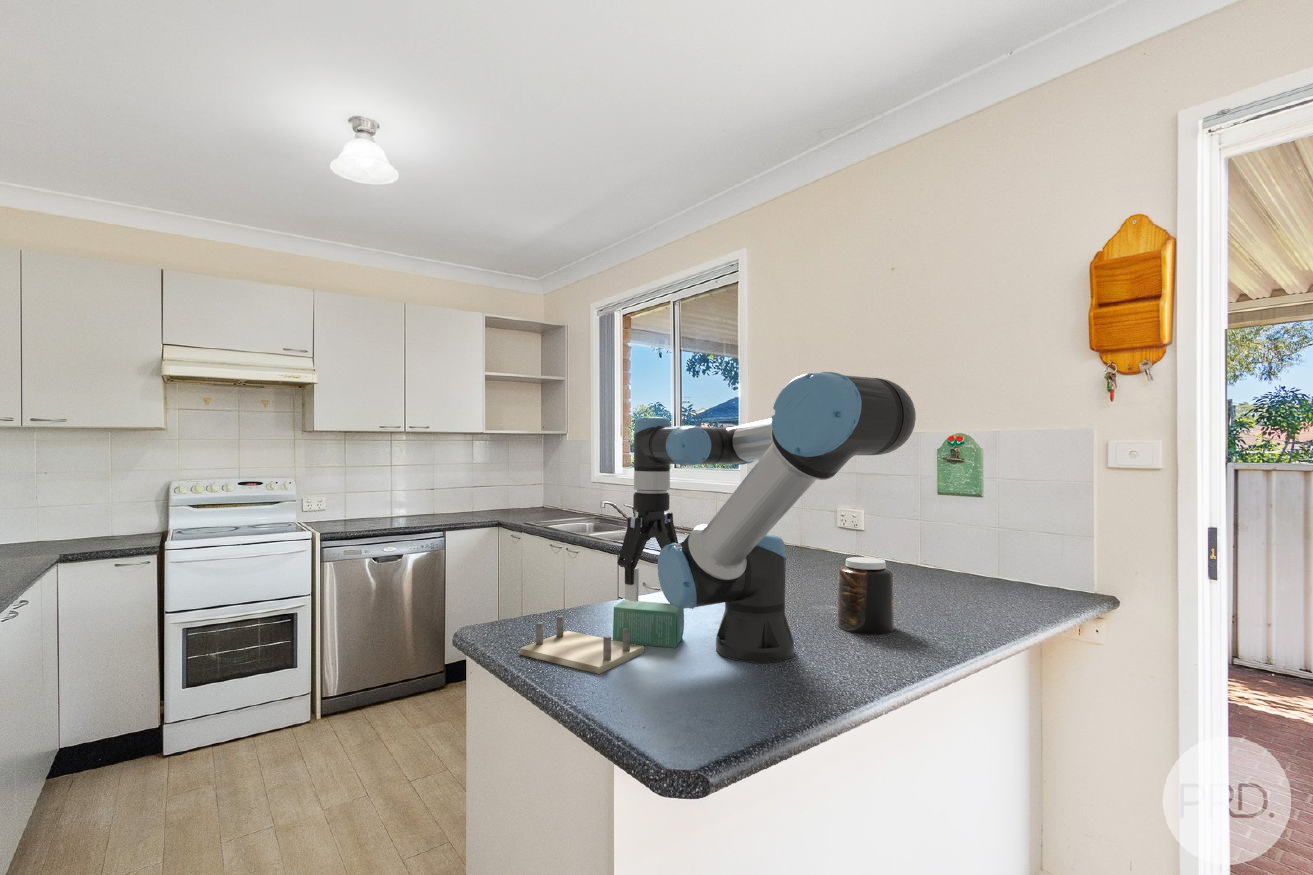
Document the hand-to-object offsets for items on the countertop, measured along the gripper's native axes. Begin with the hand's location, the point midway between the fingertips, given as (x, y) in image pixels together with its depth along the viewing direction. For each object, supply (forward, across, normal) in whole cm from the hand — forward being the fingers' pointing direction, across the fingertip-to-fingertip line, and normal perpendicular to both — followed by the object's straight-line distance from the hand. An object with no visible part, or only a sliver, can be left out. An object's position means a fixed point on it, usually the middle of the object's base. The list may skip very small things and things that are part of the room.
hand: (650, 594), depth 132 cm
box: (+10, +1, +1) cm, 10 cm away
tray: (+9, +15, -6) cm, 19 cm away
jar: (+9, -34, +35) cm, 50 cm away
